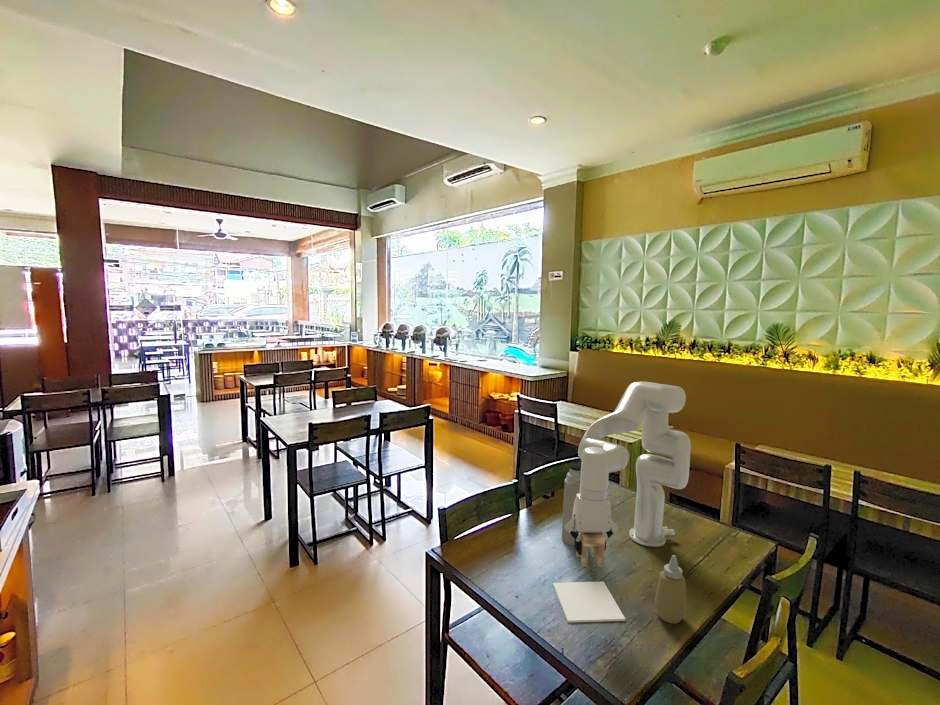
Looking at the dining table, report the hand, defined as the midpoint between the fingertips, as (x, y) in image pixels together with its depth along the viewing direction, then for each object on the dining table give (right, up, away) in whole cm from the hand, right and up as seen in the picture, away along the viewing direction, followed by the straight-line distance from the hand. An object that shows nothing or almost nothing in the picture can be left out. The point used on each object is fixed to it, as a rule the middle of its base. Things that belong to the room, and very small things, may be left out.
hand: (589, 551), depth 127 cm
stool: (0, -3, 0) cm, 3 cm away
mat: (0, -15, +2) cm, 16 cm away
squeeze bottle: (+21, -17, -3) cm, 27 cm away
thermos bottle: (+3, -11, +35) cm, 37 cm away
